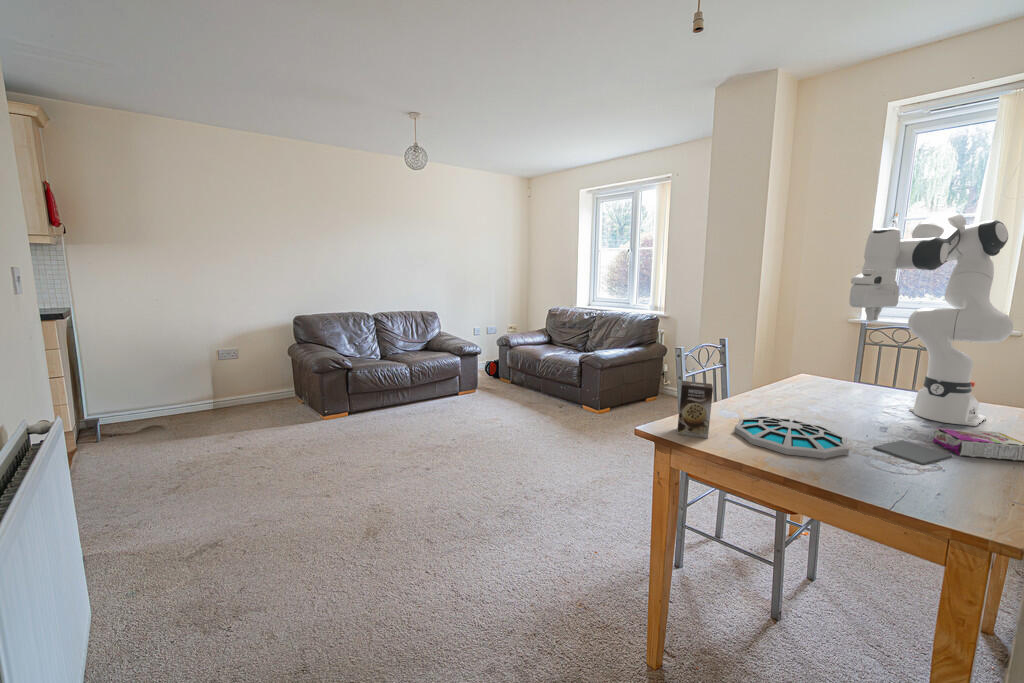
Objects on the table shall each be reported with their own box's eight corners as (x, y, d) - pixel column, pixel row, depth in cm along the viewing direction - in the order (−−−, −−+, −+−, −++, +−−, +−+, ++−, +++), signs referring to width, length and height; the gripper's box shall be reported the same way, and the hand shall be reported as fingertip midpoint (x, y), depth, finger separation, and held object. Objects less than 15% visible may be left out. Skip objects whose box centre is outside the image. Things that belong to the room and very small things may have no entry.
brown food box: (677, 434, 141) (680, 384, 138) (677, 428, 147) (681, 379, 144) (708, 439, 138) (713, 387, 135) (707, 432, 144) (712, 382, 141)
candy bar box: (934, 426, 137) (999, 431, 134) (932, 442, 138) (996, 447, 135) (962, 439, 126) (1033, 445, 123) (959, 456, 127) (1029, 462, 124)
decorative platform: (875, 460, 125) (878, 443, 124) (772, 460, 123) (774, 443, 123) (801, 422, 155) (802, 408, 154) (717, 422, 154) (719, 408, 153)
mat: (902, 441, 138) (902, 439, 137) (952, 457, 127) (952, 455, 127) (872, 448, 132) (873, 446, 132) (922, 465, 121) (923, 463, 121)
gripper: (886, 278, 154) (880, 318, 156) (847, 278, 146) (842, 320, 148) (907, 279, 148) (901, 320, 150) (869, 278, 140) (863, 322, 143)
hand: (871, 320), depth 149 cm, fingers closed
